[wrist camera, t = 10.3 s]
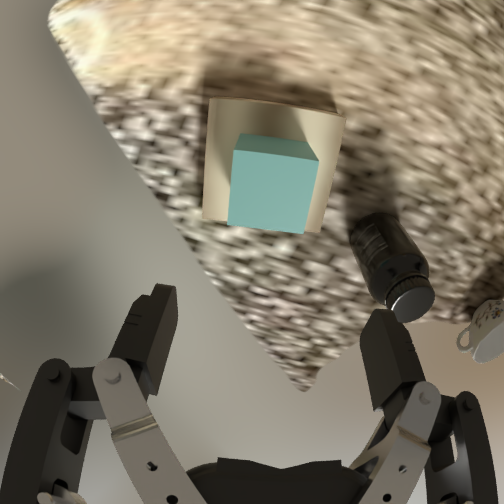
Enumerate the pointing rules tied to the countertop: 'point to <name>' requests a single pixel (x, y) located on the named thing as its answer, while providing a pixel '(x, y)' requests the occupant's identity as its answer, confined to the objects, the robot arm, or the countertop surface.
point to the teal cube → (271, 183)
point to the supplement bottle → (392, 266)
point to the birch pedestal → (272, 125)
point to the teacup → (485, 332)
